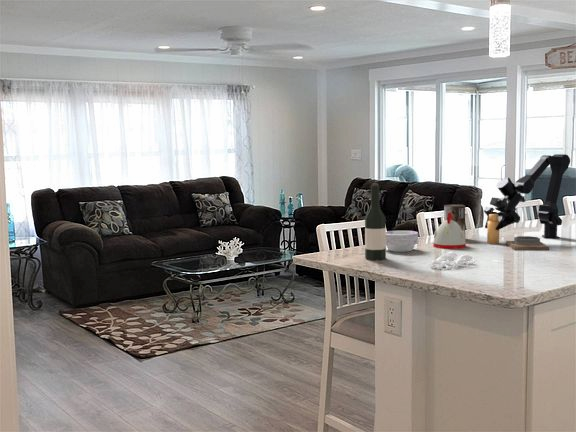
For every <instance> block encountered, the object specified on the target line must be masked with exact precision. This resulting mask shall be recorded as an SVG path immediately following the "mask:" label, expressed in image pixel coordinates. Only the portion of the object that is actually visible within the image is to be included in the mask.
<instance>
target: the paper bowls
mask: <svg viewBox="0 0 576 432" xmlns="http://www.w3.org/2000/svg"><path fill="white" fill-rule="evenodd" d="M415 245H419V232H418V231H414V230H388V231H386V248H387V249H388V251H390V252H395V253H407V252H411V251H412V250H414V248H415Z"/></svg>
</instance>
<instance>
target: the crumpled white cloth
mask: <svg viewBox="0 0 576 432" xmlns="http://www.w3.org/2000/svg"><path fill="white" fill-rule="evenodd" d="M470 261H472V262H470ZM475 262H476V261H475V260H474V258H473V256H471V255H470V254H461V255H459V257H458V258H457V254H456V252H454V251H448V252H444V254H442V255H440V256H439V257H438V258H437V259H434V260H432V261H429V262H428V265H429V266H430V267H431V268H434V269H438V271H439V270H440V269H441V270H443V271H446V270H447V269H450V270H451V269H452V268H456V267H467V266H469V265H471V264H475ZM447 271H448V270H447Z"/></svg>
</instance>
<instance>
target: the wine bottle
mask: <svg viewBox="0 0 576 432" xmlns="http://www.w3.org/2000/svg"><path fill="white" fill-rule="evenodd" d="M386 220H387V218H386V216H385V214H384V212H383V211H382V209H381V206H380V185H379V183H371V185H370V207H369V210H368V211H367V213H366V215H365V217H364V249H365V250H364V253H365V254H364V255H365V256H364V259H366V260H368V261H383V259H384V260H386V259H387V258H386V257H387V256H386V255H387V254H386V253H387V251H386V250H387V249H386V248H387V246H386V232H387V231H386V230H387V229H386V228H387V227H386V226H387V225H386V224H387V223H386V222H387V221H386Z"/></svg>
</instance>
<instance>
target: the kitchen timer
mask: <svg viewBox="0 0 576 432" xmlns="http://www.w3.org/2000/svg"><path fill="white" fill-rule="evenodd" d="M432 243H433V245H432V246H433V248H438V249H442V250H443V249H445V250H447V249H448V250H456V249H457V250H459V249H464V248H466V247H467V246H466V245H467V243H466V233H465V234H464V231H462V229H461V227H460V226H459V225H458V224H457V223H456V222H455V221H453V220H452V215H451V213H448V217H447V220H446V221H444V220H443V222H442V223H441V224H440V225H439V226H438V227H437V229H436V230H434V234H433V242H432Z"/></svg>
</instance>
